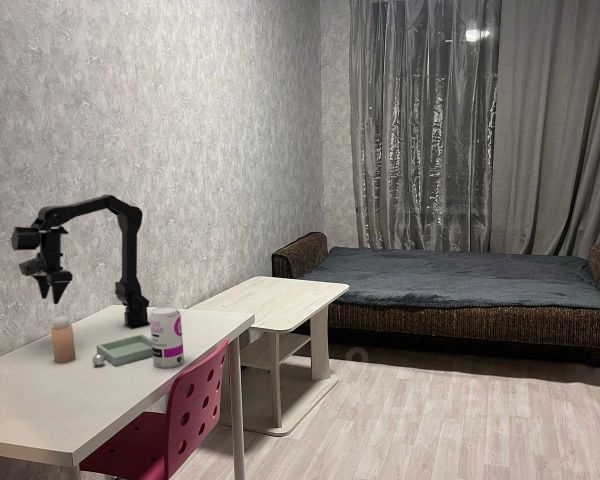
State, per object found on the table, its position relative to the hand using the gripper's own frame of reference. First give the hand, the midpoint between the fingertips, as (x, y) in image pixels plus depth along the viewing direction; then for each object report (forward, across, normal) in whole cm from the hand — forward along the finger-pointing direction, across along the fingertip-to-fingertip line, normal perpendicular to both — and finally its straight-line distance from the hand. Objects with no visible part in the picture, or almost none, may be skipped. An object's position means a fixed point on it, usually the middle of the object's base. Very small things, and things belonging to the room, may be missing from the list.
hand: (49, 301), depth 182 cm
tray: (+12, +24, +14) cm, 30 cm away
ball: (+12, +26, +4) cm, 29 cm away
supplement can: (+12, +39, +18) cm, 45 cm away
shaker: (+14, +14, -1) cm, 20 cm away
